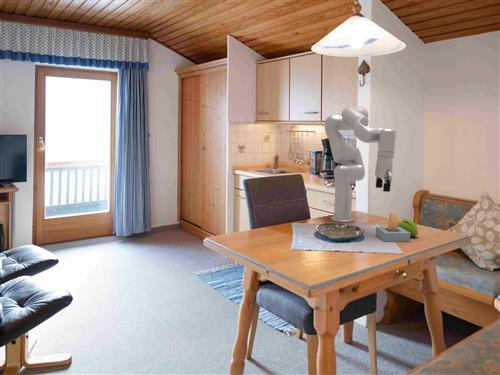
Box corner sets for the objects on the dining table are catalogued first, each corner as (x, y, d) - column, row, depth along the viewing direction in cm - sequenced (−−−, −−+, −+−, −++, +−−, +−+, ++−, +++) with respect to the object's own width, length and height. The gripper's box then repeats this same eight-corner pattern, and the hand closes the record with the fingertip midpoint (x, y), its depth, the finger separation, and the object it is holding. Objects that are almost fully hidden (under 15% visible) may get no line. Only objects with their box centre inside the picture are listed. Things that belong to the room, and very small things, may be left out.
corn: (408, 223, 201) (389, 214, 220) (406, 239, 202) (387, 228, 222) (423, 224, 202) (402, 215, 222) (421, 239, 203) (401, 229, 223)
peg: (394, 236, 206) (395, 212, 204) (397, 239, 202) (399, 214, 200) (386, 237, 205) (387, 212, 204) (389, 239, 201) (391, 214, 200)
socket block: (375, 234, 209) (375, 227, 208) (399, 234, 210) (399, 226, 209) (384, 241, 197) (385, 233, 197) (409, 241, 198) (410, 233, 197)
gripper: (371, 152, 212) (368, 186, 216) (384, 156, 195) (381, 193, 199) (386, 152, 213) (383, 186, 216) (400, 156, 196) (397, 193, 199)
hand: (382, 189), depth 207 cm, fingers open, 9 cm apart
